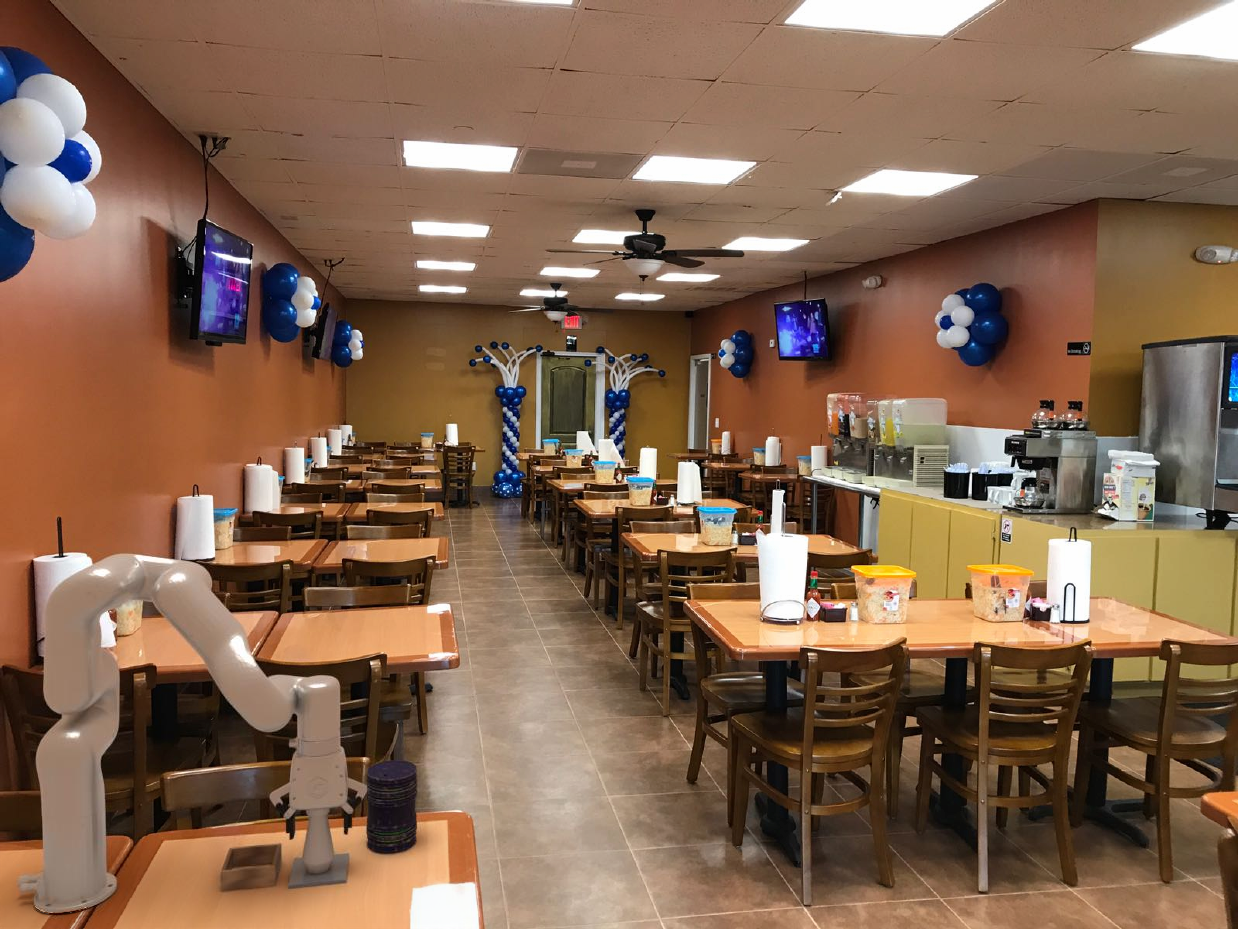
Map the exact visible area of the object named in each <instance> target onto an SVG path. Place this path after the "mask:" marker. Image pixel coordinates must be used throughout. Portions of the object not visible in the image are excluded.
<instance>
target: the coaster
mask: <svg viewBox="0 0 1238 929" xmlns="http://www.w3.org/2000/svg"><path fill="white" fill-rule="evenodd" d="M349 858H350V853H349V852H348V853H336V854H335V853H334V859H333V861H332V863H331V865H330V867H329V869H328V870H327V871H326V872H323V873H320V874H312V873H308V871H307V869H306V867H305V865H304V864H303V862H302V857H295V858H293V863H292V868H291V871H290V877H289V879H288V880H289V881H288V885H287V888H288V889H297V888H304V887H303V886H308V887H317V886H327V885H328V886H329V885H337V883H338V884H346V883H347V877H348V867H349V861H348V860H350V859H349Z"/></svg>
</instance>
